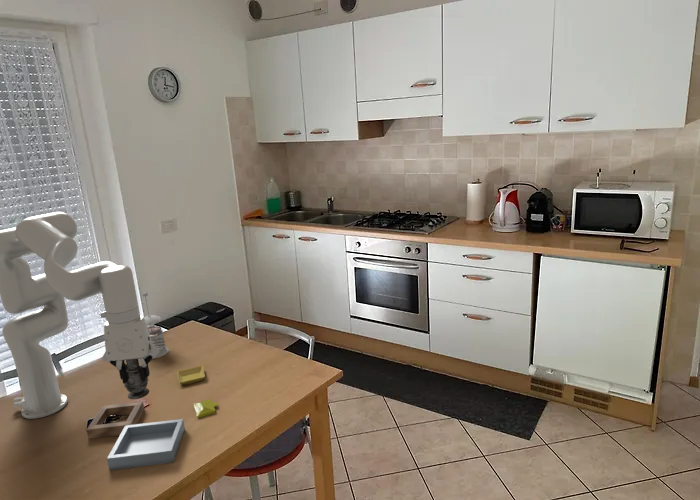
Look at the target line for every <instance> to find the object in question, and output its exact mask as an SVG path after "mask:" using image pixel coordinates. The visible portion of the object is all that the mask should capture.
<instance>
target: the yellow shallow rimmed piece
mask: <svg viewBox="0 0 700 500" xmlns="http://www.w3.org/2000/svg"><path fill="white" fill-rule="evenodd" d="M176 373H177V379H178V380H177V381H178V383H179V384H180V385H182V386H184V385H189V384H194V383H197V382H202V381H203V380H204V379H205V378H206V374H205V369H204V366H203V365H200V366H196V367H191V368H187V369H182V370H179V371H177V372H176Z"/></svg>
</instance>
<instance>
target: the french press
mask: <svg viewBox="0 0 700 500" xmlns="http://www.w3.org/2000/svg"><path fill="white" fill-rule="evenodd" d="M148 295H149V294H148V292H145V291H144V292H143V293H142V297H145V302H146V308H147V310H149V306H148V302H147V296H148ZM147 314H148V315H146V316H143V318H144V320H145V322H146V325H147V327H148V330H149V334H150V338H151V342H152V343H153V344H154V345H155V346H156V347H157V348H158V349H159V350H160V352H159V354H158V355H157V356H155V357H154V358H153V359H157V358H161V357H164V356H165V355H167V354H168V353H169V351H170V350H169V348H168V347H166V343H165V337H164V331H163V330H162V327H161V326H157V325H155V324H157V323H158V322H160V321H161V320H162V319H161V316H158V315H155V314H154V315H150V312H149V311H147ZM152 325H155V326H152ZM150 353H152V352H151V351H150V350H149V354H150ZM149 354H148V355H149ZM148 355H147V356H148Z"/></svg>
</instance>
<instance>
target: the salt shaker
mask: <svg viewBox="0 0 700 500" xmlns="http://www.w3.org/2000/svg"><path fill="white" fill-rule="evenodd" d="M125 364H127V369H126V371H127V372H128V375H129V380H128V381H127V383H125V384H123V387H124V388H126V390H127V392H129V393H128V394H127V398H128V399H130V400H138V399H142V398H144V397H146V396H148V394H150V389H148V388H147V386H148V381H149V378H148V377H149V376H148V377H147V379H146V381H144V382H143V381H142V378H141V373H140V367H141V364H140V361H139V359H130V360H125Z"/></svg>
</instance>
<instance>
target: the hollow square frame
mask: <svg viewBox="0 0 700 500" xmlns="http://www.w3.org/2000/svg"><path fill="white" fill-rule="evenodd" d="M144 412H145V405H144V401H143V400H142V401H133V402H126V403H117V404H109V405H108V404H107V405H102V406H101V408H99V410H98V412H97V413H96V415H95V416H94V418H93V419H92V421H91V422H90V424H89V425H88V427H87V428H86V433H87V437H88V439H89V440H91V439H97V438H98V439H99V438H100V439H101V438H105V437H106V438H107V437H115V436H120V434H121V432H122V431H123V429H124V427H125V426H126V425H135V424H139V422H140V419H141V417H142V416H143V414H144ZM110 415H123V416H128V417H127V419H126V421H119V422H112V423H104V421H105V419H106V418H107V417H108V416H110ZM108 418H109V417H108ZM108 418H107V419H108ZM103 423H104V424H103Z"/></svg>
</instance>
